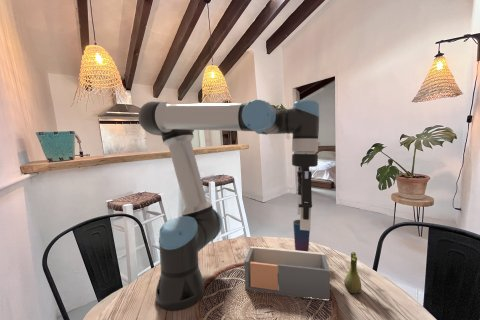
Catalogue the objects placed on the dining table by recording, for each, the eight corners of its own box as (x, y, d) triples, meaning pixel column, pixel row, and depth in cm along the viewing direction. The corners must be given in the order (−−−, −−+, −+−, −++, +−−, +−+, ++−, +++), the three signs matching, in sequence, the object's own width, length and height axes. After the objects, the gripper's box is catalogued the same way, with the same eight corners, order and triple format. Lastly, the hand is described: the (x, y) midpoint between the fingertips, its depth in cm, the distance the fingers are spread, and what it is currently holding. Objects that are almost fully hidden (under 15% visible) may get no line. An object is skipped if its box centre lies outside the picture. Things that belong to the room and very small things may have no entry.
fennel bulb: (355, 298, 65) (356, 260, 64) (340, 289, 69) (340, 253, 68) (364, 290, 68) (365, 254, 68) (349, 282, 72) (349, 248, 72)
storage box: (245, 289, 70) (244, 261, 69) (251, 270, 81) (250, 246, 80) (329, 301, 64) (329, 271, 63) (324, 279, 74) (324, 253, 74)
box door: (250, 286, 69) (250, 263, 69) (251, 285, 70) (250, 261, 70) (277, 290, 67) (277, 266, 67) (277, 288, 68) (277, 264, 68)
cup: (311, 262, 86) (311, 225, 85) (293, 260, 87) (293, 224, 86) (309, 253, 92) (309, 219, 91) (293, 252, 94) (292, 219, 93)
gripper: (325, 155, 52) (322, 239, 53) (312, 151, 76) (311, 210, 77) (293, 154, 53) (291, 237, 55) (291, 151, 77) (289, 208, 79)
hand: (303, 221), depth 66 cm, fingers open, 13 cm apart
